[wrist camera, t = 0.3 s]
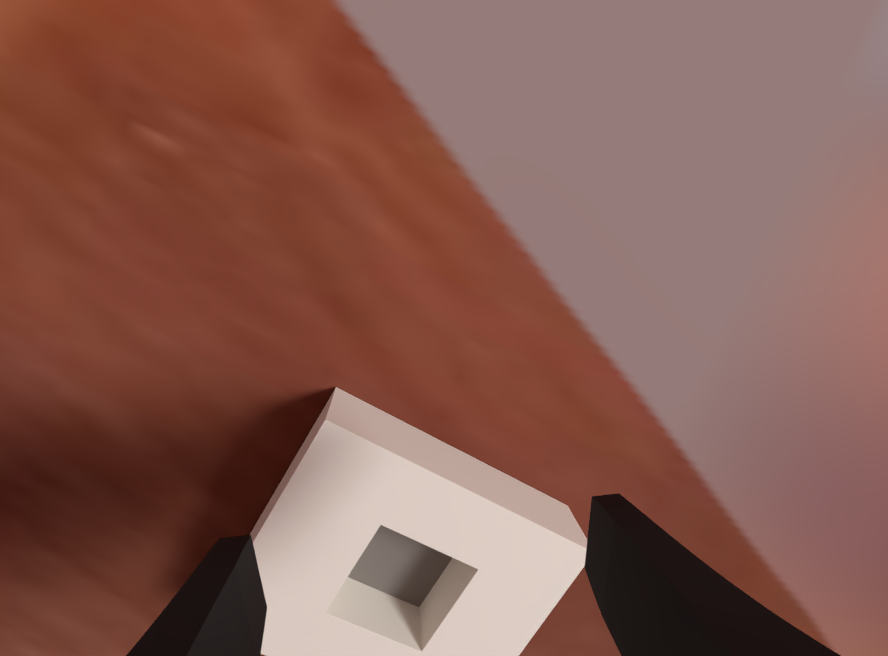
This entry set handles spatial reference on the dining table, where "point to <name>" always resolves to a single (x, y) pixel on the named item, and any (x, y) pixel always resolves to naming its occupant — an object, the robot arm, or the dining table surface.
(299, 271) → the dining table surface
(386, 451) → the bore block
